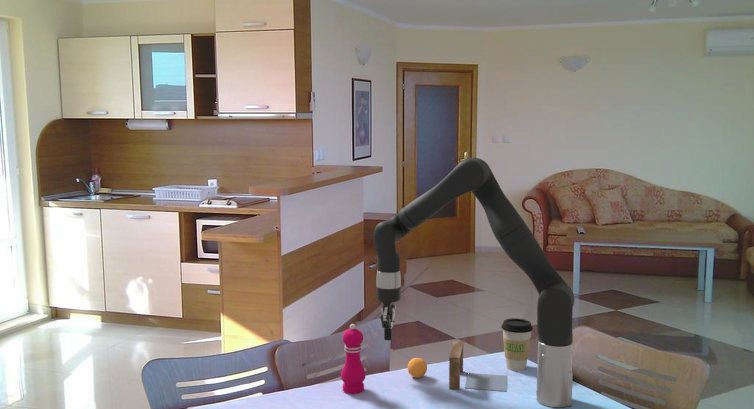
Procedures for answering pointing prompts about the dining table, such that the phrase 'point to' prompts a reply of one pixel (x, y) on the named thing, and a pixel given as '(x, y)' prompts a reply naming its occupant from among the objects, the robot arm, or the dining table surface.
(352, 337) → the pepper mill
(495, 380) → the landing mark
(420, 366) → the ball
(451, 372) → the bridge
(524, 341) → the coffee cup
